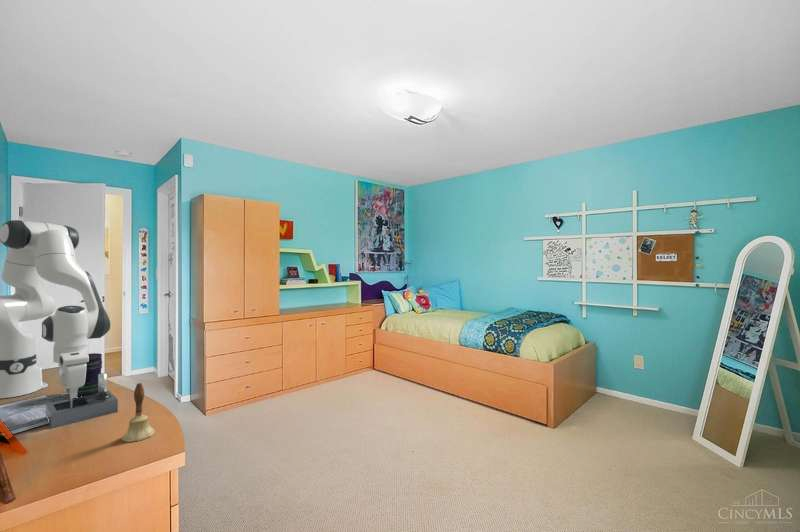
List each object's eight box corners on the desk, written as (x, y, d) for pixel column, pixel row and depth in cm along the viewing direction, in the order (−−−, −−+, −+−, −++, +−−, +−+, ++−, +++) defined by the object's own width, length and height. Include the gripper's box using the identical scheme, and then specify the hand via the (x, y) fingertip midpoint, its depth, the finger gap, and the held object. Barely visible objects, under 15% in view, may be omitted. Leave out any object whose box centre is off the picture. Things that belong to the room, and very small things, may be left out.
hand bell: (118, 436, 111) (118, 384, 111) (150, 426, 118) (150, 377, 117) (126, 445, 106) (126, 390, 106) (159, 435, 112) (159, 383, 112)
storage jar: (79, 399, 139) (80, 360, 139) (63, 396, 142) (63, 358, 142) (108, 391, 148) (108, 354, 148) (91, 388, 151) (91, 352, 151)
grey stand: (51, 428, 116) (51, 388, 115) (45, 417, 123) (45, 379, 123) (117, 411, 129) (117, 375, 129) (108, 402, 136) (108, 368, 136)
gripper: (53, 350, 128) (53, 390, 128) (64, 361, 115) (64, 405, 115) (77, 347, 133) (77, 385, 133) (90, 357, 120) (90, 399, 120)
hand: (71, 395), depth 124 cm, fingers closed on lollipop, 5 cm apart
